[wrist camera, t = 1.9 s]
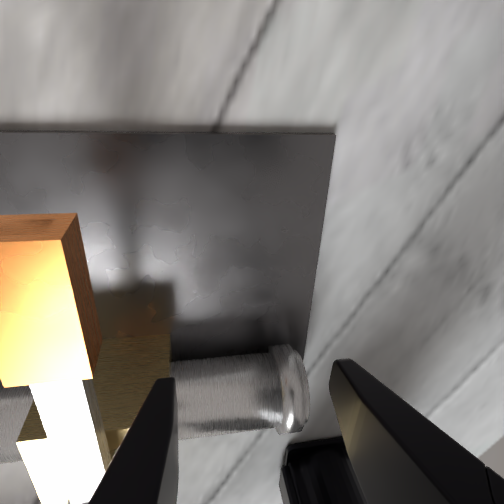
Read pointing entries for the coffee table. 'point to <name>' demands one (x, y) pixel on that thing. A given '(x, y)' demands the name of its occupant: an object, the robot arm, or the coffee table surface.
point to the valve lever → (54, 340)
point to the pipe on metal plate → (179, 274)
